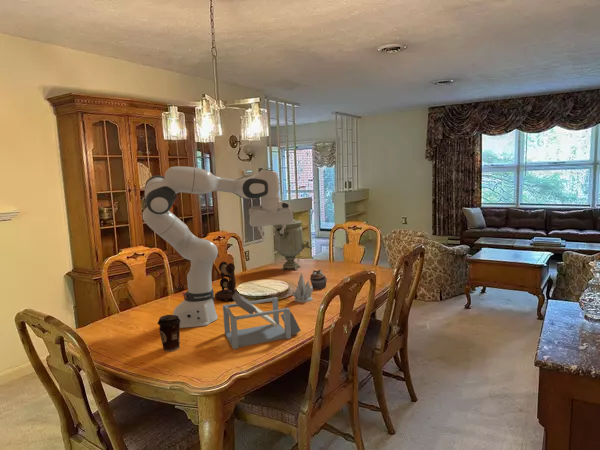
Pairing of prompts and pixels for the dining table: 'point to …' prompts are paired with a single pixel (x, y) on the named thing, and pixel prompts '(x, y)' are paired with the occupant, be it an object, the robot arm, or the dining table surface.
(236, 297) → the trapdoor
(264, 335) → the frame
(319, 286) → the cupcake
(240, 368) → the dining table surface
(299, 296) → the crystal
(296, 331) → the stone
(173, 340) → the coffee cup
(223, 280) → the coffee pod holder
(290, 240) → the samovar
